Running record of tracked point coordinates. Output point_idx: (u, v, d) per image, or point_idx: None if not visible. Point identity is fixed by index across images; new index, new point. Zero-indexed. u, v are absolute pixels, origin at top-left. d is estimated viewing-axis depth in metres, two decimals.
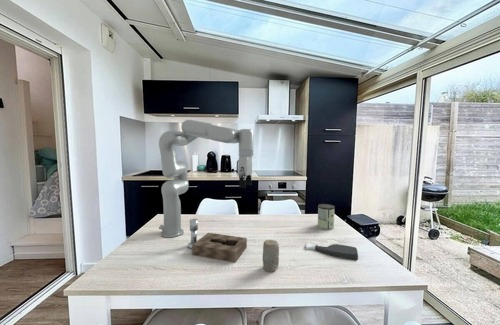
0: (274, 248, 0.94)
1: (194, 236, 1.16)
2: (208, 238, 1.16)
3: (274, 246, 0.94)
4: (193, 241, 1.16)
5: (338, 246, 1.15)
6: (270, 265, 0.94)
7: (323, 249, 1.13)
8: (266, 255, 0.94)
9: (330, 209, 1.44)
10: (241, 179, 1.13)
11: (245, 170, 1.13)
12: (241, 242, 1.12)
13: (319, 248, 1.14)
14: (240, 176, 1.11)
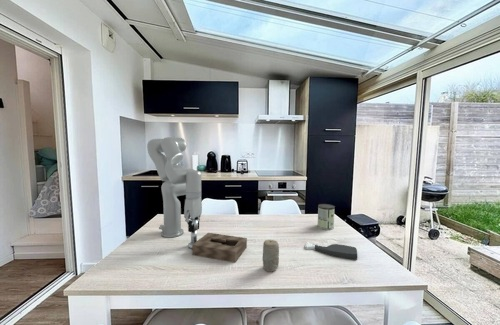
0: (274, 248, 0.94)
1: (194, 236, 1.16)
2: (208, 238, 1.16)
3: (274, 246, 0.94)
4: (193, 241, 1.16)
5: (337, 246, 1.15)
6: (270, 265, 0.94)
7: (323, 249, 1.13)
8: (266, 255, 0.94)
9: (330, 209, 1.44)
10: (189, 224, 1.13)
11: (191, 214, 1.11)
12: (241, 242, 1.12)
13: (319, 248, 1.15)
14: (188, 221, 1.12)
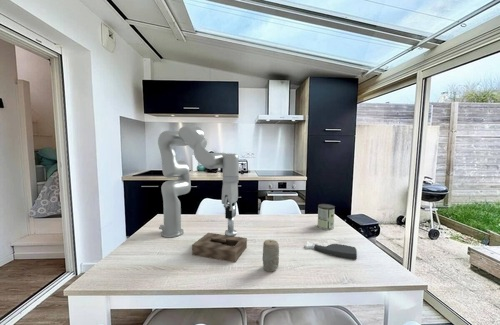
0: (274, 248, 0.94)
1: (231, 223, 1.10)
2: (208, 238, 1.16)
3: (274, 246, 0.94)
4: (230, 228, 1.10)
5: (337, 246, 1.15)
6: (270, 265, 0.94)
7: (322, 248, 1.14)
8: (266, 255, 0.94)
9: (330, 209, 1.44)
10: (227, 210, 1.07)
11: (229, 199, 1.05)
12: (241, 242, 1.12)
13: (318, 247, 1.15)
14: None
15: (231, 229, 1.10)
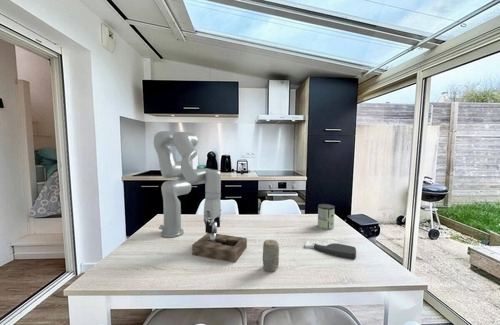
0: (274, 248, 0.94)
1: (213, 239, 1.13)
2: (208, 238, 1.16)
3: (274, 246, 0.94)
4: None
5: (336, 246, 1.16)
6: (270, 265, 0.94)
7: (321, 248, 1.15)
8: (266, 255, 0.94)
9: (330, 209, 1.44)
10: (207, 224, 1.08)
11: (211, 214, 1.08)
12: (241, 242, 1.12)
13: (318, 247, 1.16)
14: (205, 222, 1.07)
15: None
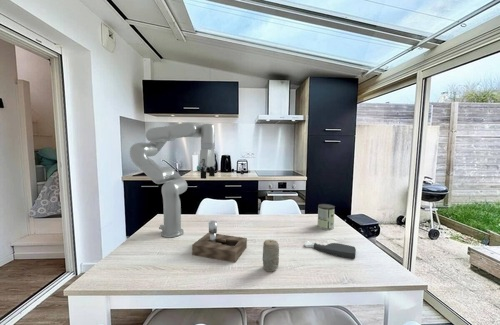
0: (274, 248, 0.94)
1: (213, 239, 1.13)
2: (208, 238, 1.16)
3: (274, 246, 0.94)
4: None
5: (336, 245, 1.16)
6: (270, 265, 0.94)
7: (321, 247, 1.15)
8: (266, 255, 0.94)
9: (330, 209, 1.44)
10: (202, 170, 1.21)
11: (206, 162, 1.22)
12: (241, 242, 1.12)
13: (317, 246, 1.17)
14: (200, 167, 1.20)
15: None
